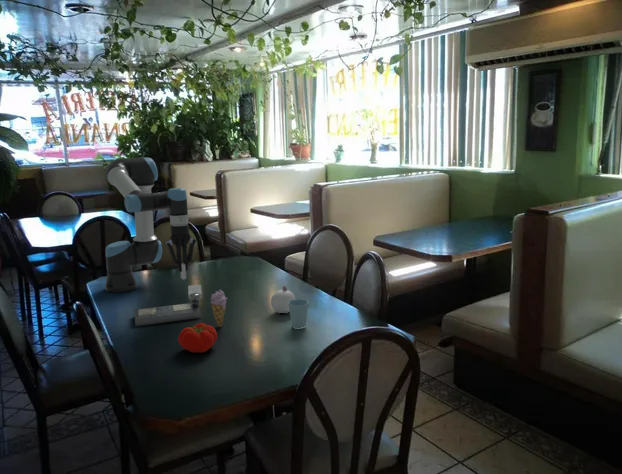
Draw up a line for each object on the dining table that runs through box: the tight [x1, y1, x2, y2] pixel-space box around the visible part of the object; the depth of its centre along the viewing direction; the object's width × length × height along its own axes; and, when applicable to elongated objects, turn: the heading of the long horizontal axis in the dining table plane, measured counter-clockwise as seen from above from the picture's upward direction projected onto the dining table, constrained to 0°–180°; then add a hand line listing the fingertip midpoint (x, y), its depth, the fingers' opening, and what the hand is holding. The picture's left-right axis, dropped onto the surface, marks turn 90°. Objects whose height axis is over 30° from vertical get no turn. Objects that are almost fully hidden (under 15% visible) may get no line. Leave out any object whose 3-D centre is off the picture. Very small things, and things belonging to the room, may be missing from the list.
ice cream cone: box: [210, 289, 229, 328], centre depth 199 cm, size 7×6×15 cm
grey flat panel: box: [187, 284, 203, 302], centre depth 222 cm, size 6×18×2 cm, turn 14°
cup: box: [289, 298, 309, 328], centre depth 198 cm, size 8×8×10 cm
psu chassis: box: [134, 300, 202, 327], centre depth 211 cm, size 12×26×5 cm, turn 110°
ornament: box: [270, 285, 296, 314], centre depth 214 cm, size 10×10×12 cm
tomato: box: [177, 322, 218, 353], centre depth 177 cm, size 14×13×9 cm
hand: (183, 278), depth 217 cm, fingers closed
